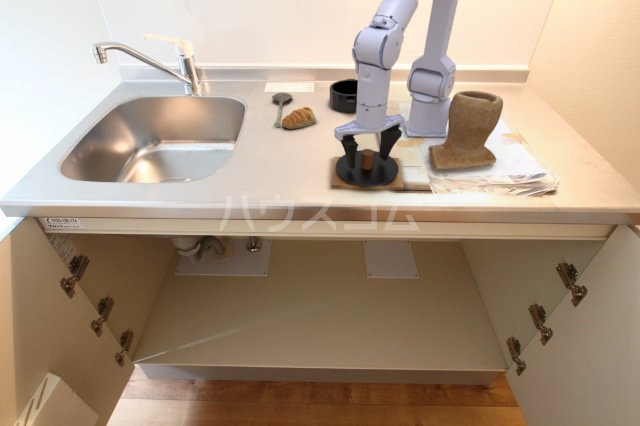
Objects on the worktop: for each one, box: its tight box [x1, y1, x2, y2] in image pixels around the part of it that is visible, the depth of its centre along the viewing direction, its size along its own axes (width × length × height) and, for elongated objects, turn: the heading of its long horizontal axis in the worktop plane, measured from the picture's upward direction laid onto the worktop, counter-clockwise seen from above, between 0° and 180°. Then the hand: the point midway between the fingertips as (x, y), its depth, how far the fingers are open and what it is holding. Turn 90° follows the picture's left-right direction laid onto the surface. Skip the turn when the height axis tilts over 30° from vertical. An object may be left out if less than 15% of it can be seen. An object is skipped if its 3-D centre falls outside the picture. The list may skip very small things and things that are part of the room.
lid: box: [336, 148, 399, 187], centre depth 68 cm, size 14×14×5 cm
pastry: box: [281, 106, 317, 130], centre depth 88 cm, size 9×7×4 cm
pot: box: [329, 78, 358, 114], centre depth 96 cm, size 13×18×5 cm
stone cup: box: [428, 90, 504, 170], centre depth 69 cm, size 15×12×15 cm
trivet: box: [330, 156, 405, 191], centre depth 70 cm, size 15×11×1 cm
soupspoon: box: [271, 92, 293, 128], centre depth 96 cm, size 22×3×7 cm
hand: (367, 162), depth 68 cm, fingers open, 7 cm apart
